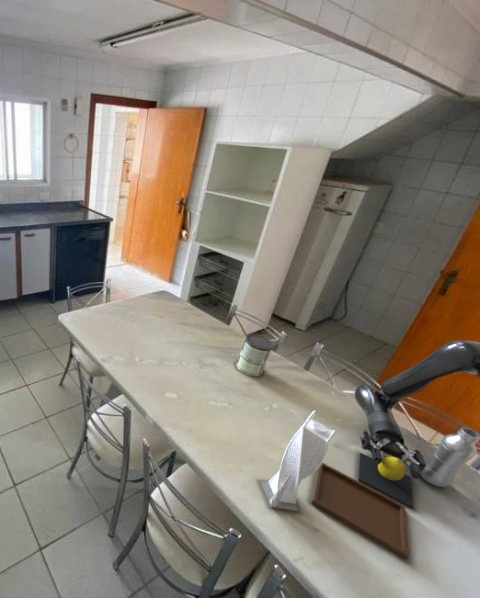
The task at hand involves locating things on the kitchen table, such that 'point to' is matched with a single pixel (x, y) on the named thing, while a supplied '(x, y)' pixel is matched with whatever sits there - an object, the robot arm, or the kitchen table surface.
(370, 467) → the plate
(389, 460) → the lemon
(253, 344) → the coffee can
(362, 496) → the tray
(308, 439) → the skyscraper
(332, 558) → the kitchen table surface
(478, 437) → the silver metal flask
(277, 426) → the kitchen table surface
